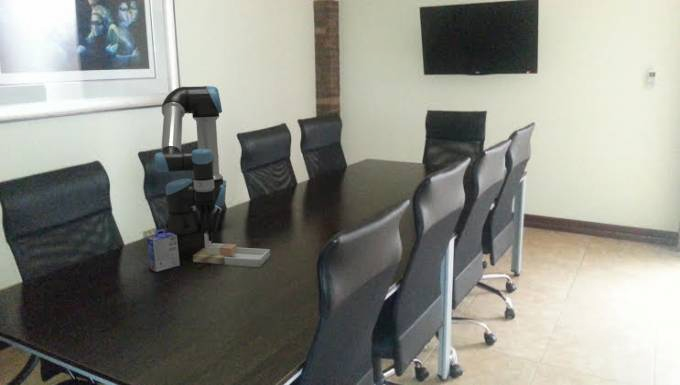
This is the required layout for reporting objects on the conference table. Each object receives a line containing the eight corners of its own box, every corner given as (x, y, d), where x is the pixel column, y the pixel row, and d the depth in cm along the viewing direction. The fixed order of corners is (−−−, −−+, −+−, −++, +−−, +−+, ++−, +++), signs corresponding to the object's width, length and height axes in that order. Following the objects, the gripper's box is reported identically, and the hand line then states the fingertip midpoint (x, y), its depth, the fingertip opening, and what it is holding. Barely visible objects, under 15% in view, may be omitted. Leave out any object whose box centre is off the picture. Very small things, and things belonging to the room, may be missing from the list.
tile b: (219, 255, 215) (219, 247, 214) (225, 251, 220) (224, 243, 219) (231, 256, 214) (231, 248, 213) (237, 251, 218) (236, 244, 218)
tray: (224, 265, 211) (224, 257, 211) (236, 254, 223) (236, 247, 222) (259, 267, 209) (259, 259, 208) (270, 256, 220) (270, 249, 219)
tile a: (207, 254, 216) (207, 247, 215) (213, 250, 221) (212, 243, 220) (219, 255, 215) (219, 247, 214) (225, 251, 219) (224, 243, 219)
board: (193, 261, 215) (192, 255, 214) (204, 253, 225) (204, 247, 224) (224, 264, 212) (224, 257, 212) (234, 255, 222) (234, 249, 221)
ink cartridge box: (173, 262, 215) (170, 226, 212) (180, 265, 211) (177, 229, 208) (149, 268, 209) (145, 231, 205) (156, 272, 205) (152, 234, 201)
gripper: (184, 191, 210) (188, 250, 216) (216, 192, 208) (219, 252, 213) (193, 187, 217) (197, 244, 223) (224, 188, 215) (227, 246, 220)
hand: (208, 248), depth 218 cm, fingers closed
